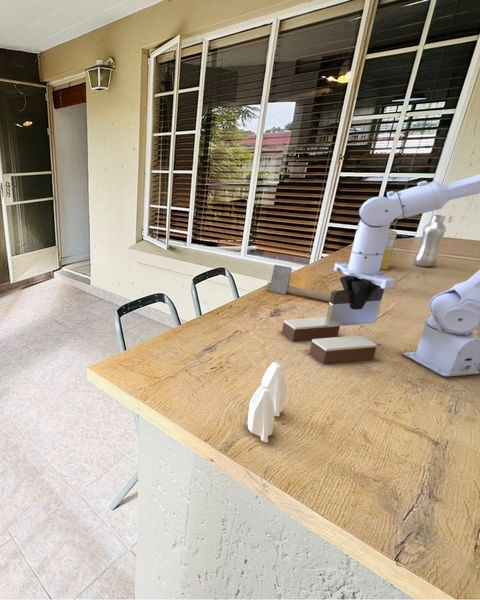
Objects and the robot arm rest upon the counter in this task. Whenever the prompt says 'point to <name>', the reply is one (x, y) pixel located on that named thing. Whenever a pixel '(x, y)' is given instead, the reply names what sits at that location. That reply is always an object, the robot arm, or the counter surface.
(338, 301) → the wide flat blade
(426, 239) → the silver bottle
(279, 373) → the shaker set
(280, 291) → the long-handled mallet
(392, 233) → the candy box
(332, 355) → the cake near half
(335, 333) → the cake far half
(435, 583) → the counter surface
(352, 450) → the counter surface
